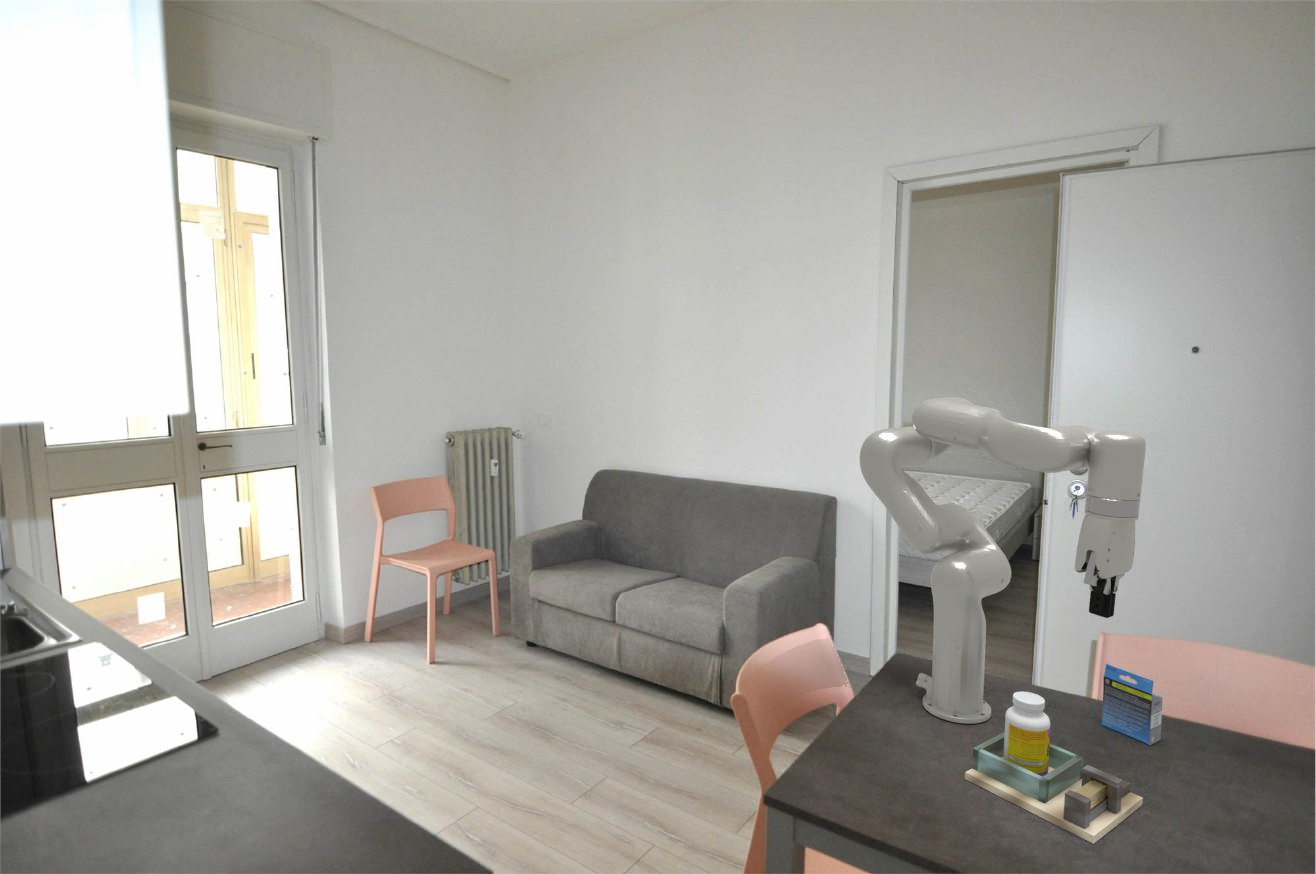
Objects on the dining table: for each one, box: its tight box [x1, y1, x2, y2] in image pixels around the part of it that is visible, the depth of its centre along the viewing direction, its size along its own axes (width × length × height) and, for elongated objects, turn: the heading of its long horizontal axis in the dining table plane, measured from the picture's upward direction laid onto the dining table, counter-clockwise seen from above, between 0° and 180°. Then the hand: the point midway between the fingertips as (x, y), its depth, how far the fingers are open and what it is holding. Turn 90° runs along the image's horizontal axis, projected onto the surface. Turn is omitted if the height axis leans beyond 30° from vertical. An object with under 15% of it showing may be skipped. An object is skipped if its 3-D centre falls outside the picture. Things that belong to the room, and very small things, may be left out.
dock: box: [964, 730, 1144, 845], centre depth 116 cm, size 20×16×6 cm
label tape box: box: [1101, 662, 1163, 746], centre depth 134 cm, size 9×4×12 cm, turn 28°
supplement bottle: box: [1003, 690, 1051, 777], centre depth 119 cm, size 7×7×13 cm
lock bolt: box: [1075, 778, 1109, 809], centre depth 110 cm, size 2×9×2 cm, turn 125°
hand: (1100, 614), depth 121 cm, fingers closed
